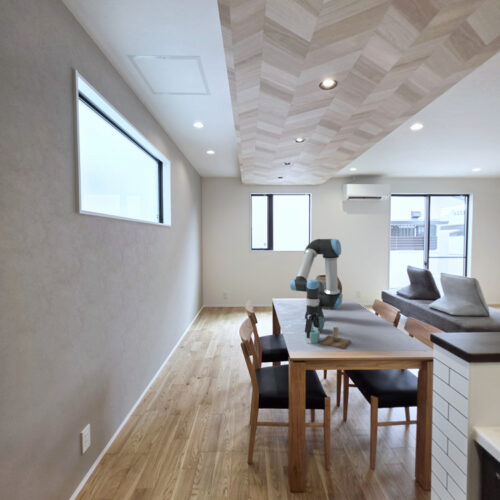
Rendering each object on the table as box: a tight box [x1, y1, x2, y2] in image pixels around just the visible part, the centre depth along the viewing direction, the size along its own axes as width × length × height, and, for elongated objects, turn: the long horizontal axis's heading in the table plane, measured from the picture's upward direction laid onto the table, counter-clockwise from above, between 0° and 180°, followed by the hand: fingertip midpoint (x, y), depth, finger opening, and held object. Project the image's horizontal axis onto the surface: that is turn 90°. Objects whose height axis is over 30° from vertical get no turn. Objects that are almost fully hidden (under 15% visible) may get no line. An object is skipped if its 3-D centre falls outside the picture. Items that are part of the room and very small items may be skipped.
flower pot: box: [311, 317, 326, 333], centre depth 186 cm, size 9×9×9 cm
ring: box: [304, 329, 320, 344], centre depth 168 cm, size 8×8×6 cm
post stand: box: [319, 326, 351, 350], centre depth 164 cm, size 14×14×9 cm
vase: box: [314, 274, 343, 310], centre depth 251 cm, size 26×26×30 cm
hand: (312, 340), depth 168 cm, fingers open, 11 cm apart
